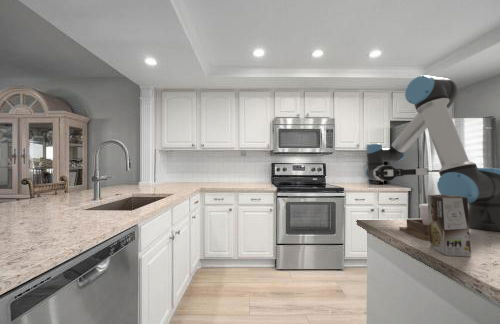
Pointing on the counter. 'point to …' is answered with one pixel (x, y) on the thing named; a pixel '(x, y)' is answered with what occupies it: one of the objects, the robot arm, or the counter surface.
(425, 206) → the smoothie
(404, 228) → the caddy
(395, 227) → the counter surface
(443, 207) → the coffee box
